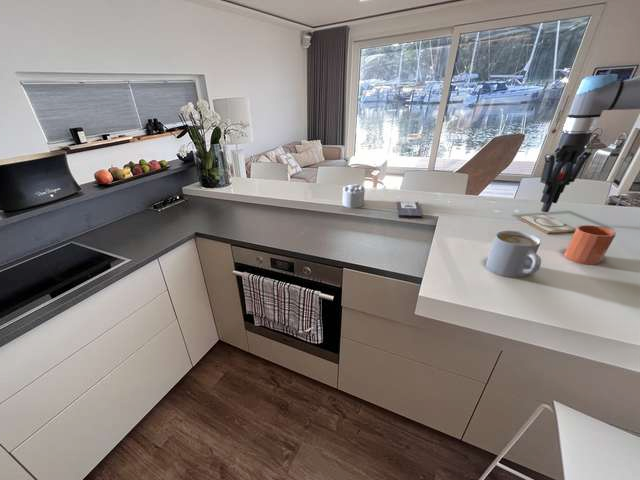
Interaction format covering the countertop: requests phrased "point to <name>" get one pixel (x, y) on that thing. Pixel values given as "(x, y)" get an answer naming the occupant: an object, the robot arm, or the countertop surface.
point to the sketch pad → (546, 224)
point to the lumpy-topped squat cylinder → (353, 196)
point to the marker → (557, 183)
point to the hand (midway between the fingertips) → (548, 202)
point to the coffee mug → (514, 254)
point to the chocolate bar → (409, 209)
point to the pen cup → (589, 244)
